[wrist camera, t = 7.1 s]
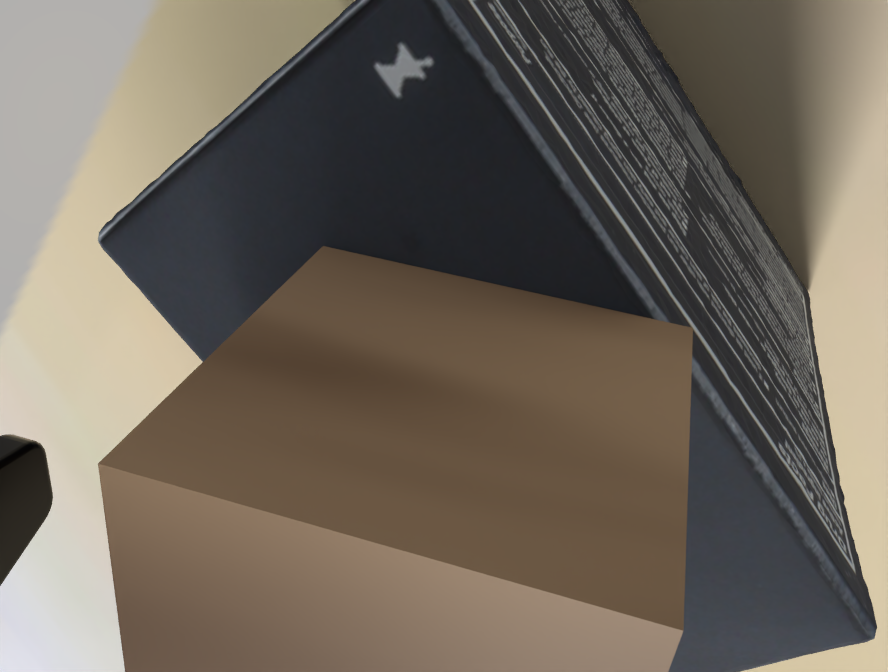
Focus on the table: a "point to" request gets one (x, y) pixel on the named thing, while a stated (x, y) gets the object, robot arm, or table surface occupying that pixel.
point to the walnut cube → (409, 485)
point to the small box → (539, 258)
